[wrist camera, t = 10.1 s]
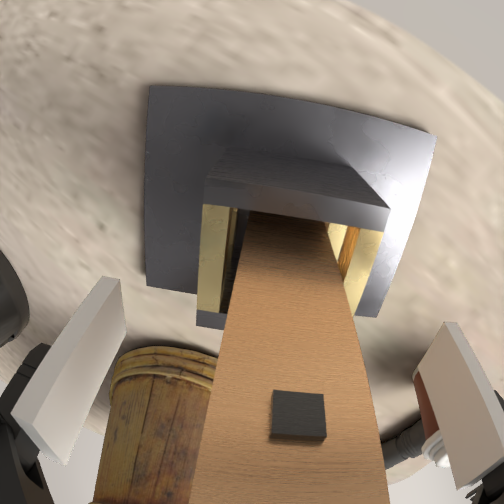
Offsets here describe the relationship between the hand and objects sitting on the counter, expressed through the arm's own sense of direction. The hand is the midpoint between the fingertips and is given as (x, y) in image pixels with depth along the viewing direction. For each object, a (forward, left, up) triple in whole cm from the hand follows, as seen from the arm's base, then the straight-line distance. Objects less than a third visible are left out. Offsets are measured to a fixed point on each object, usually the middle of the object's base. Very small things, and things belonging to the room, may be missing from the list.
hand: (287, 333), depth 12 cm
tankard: (-7, -27, -14) cm, 31 cm away
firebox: (0, 0, -13) cm, 13 cm away
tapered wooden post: (0, 0, -12) cm, 12 cm away
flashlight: (+25, -32, -14) cm, 43 cm away
